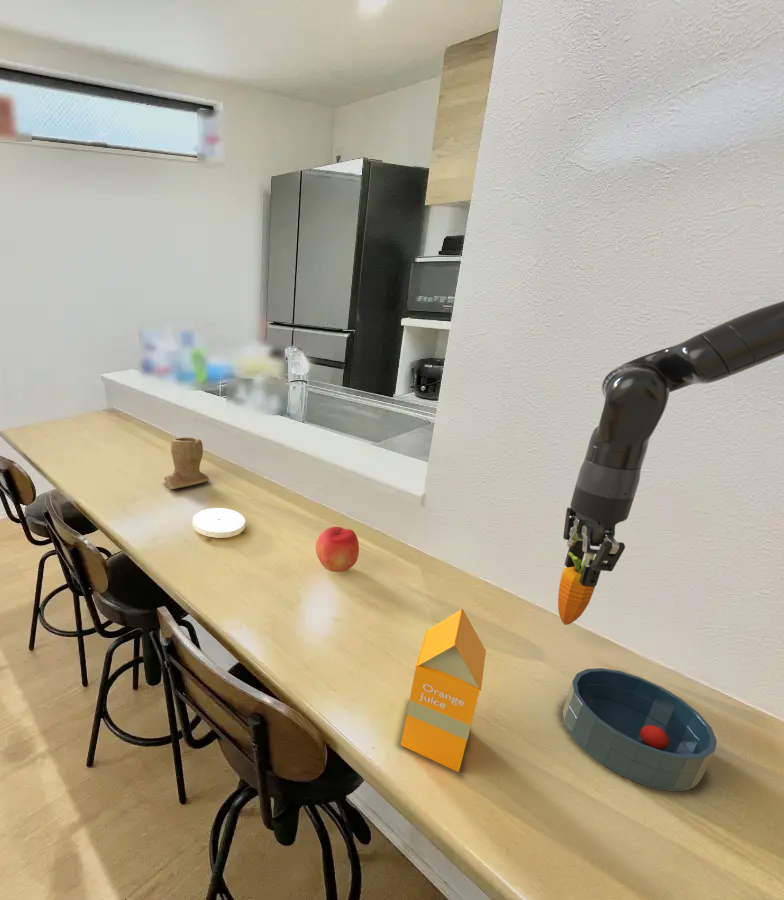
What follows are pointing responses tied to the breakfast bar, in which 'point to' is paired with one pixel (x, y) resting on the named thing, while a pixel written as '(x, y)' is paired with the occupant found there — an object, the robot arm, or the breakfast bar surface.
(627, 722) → the bowl
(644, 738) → the ball
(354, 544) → the apple
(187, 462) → the stone cup
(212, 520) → the plastic lid
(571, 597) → the carrot
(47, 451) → the breakfast bar surface
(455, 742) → the orange juice
